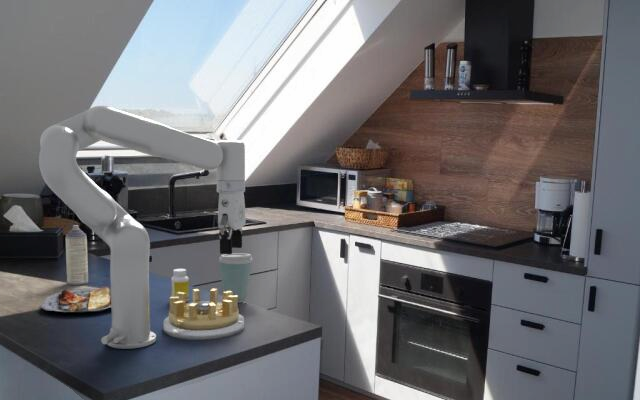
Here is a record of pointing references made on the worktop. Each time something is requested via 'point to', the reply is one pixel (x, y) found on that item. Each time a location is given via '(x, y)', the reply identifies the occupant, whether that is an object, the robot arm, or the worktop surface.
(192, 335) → the light grey round disc
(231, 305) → the bladed impeller wheel
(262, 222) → the worktop surface
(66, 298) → the food plate
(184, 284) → the supplement bottle
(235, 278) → the disposable coffee cup
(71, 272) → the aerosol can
